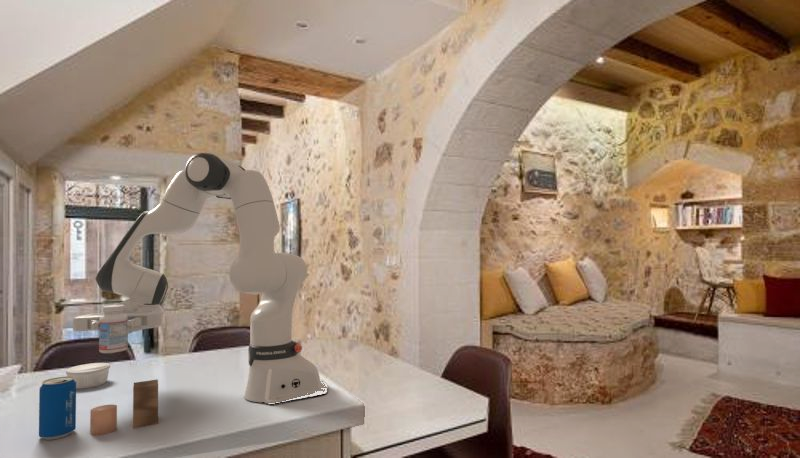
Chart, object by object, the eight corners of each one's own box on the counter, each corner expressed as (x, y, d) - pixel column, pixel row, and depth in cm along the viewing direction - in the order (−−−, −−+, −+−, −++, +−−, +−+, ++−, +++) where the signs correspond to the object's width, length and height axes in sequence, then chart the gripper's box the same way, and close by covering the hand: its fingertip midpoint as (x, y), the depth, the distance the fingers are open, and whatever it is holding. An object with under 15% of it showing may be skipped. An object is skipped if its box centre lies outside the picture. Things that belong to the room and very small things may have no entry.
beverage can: (55, 442, 96) (56, 384, 96) (30, 440, 97) (31, 383, 98) (82, 430, 102) (83, 376, 103) (59, 428, 103) (59, 375, 104)
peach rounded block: (119, 425, 105) (119, 403, 105) (113, 433, 100) (113, 410, 100) (94, 428, 103) (94, 406, 103) (87, 437, 98) (87, 413, 99)
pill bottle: (96, 351, 113) (96, 306, 114) (124, 347, 118) (124, 303, 118) (102, 355, 109) (102, 308, 109) (130, 350, 113) (130, 305, 114)
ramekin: (89, 390, 132) (89, 372, 132) (55, 389, 133) (56, 371, 134) (118, 379, 143) (118, 362, 143) (87, 378, 144) (87, 362, 145)
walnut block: (157, 417, 109) (157, 379, 110) (158, 423, 105) (158, 384, 105) (133, 421, 107) (133, 382, 107) (133, 428, 103) (133, 388, 103)
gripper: (82, 308, 122) (63, 315, 109) (166, 303, 129) (158, 309, 116) (82, 331, 122) (62, 341, 109) (166, 326, 129) (157, 334, 116)
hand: (112, 325), depth 113 cm, fingers closed on pill bottle, 6 cm apart
